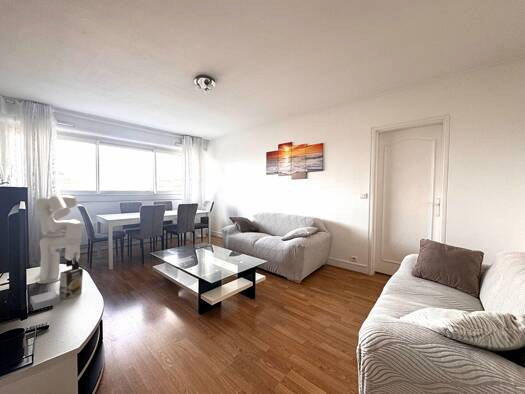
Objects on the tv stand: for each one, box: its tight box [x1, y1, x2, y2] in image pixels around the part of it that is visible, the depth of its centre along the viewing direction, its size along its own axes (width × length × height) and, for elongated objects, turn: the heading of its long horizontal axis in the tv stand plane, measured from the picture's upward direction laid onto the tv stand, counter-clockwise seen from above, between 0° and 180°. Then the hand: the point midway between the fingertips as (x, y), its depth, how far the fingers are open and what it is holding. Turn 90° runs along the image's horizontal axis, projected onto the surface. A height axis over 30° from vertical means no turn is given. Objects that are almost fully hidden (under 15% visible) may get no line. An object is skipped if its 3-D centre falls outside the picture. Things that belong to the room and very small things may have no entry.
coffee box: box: [58, 268, 84, 300], centre depth 131 cm, size 9×6×16 cm
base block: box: [29, 290, 61, 309], centre depth 120 cm, size 11×10×5 cm
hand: (72, 267), depth 131 cm, fingers open, 9 cm apart
